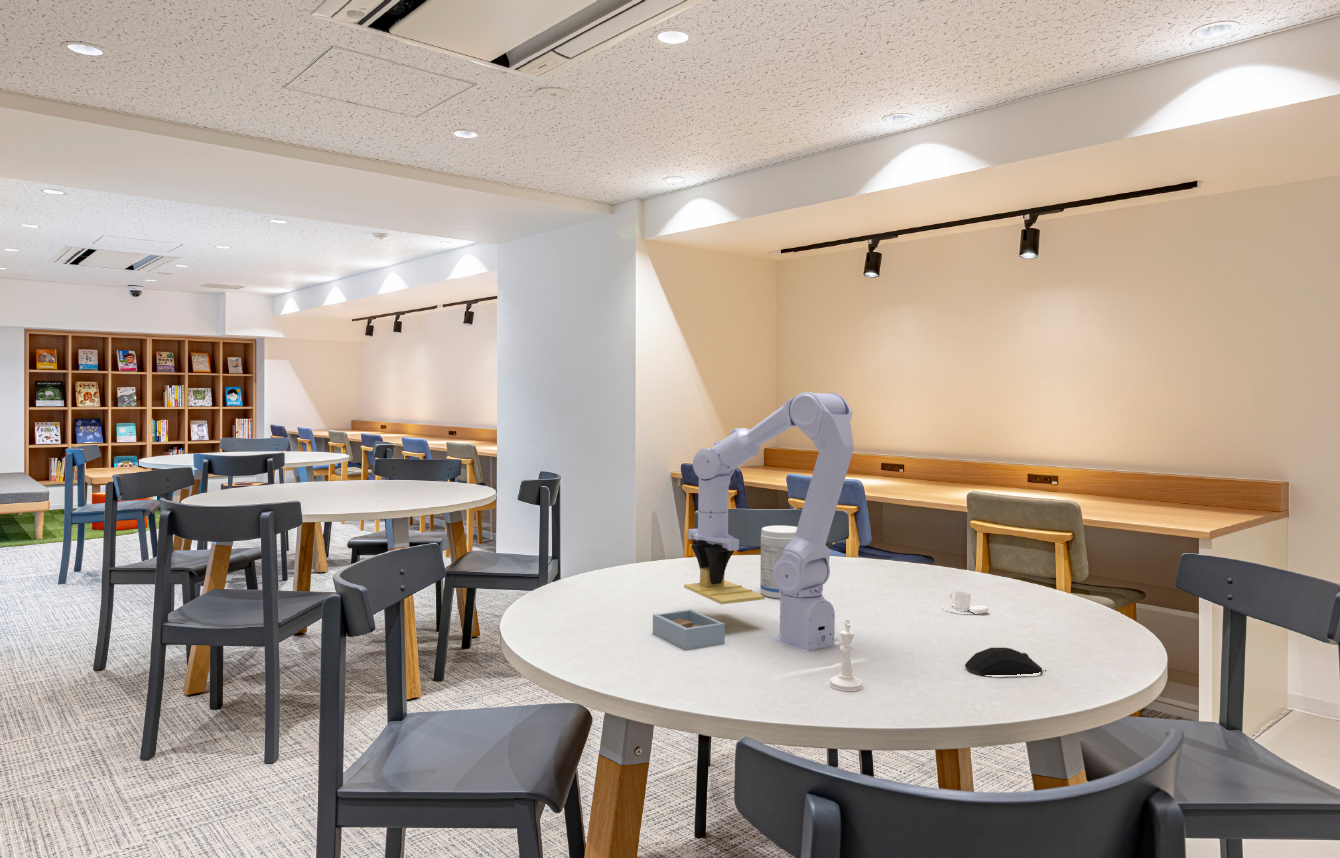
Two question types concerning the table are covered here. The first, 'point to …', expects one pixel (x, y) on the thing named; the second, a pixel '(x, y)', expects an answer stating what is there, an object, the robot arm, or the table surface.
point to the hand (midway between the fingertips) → (711, 582)
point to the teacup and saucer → (966, 602)
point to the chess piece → (846, 665)
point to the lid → (722, 590)
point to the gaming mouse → (1002, 662)
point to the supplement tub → (773, 555)
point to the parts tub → (689, 629)
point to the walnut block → (683, 623)
